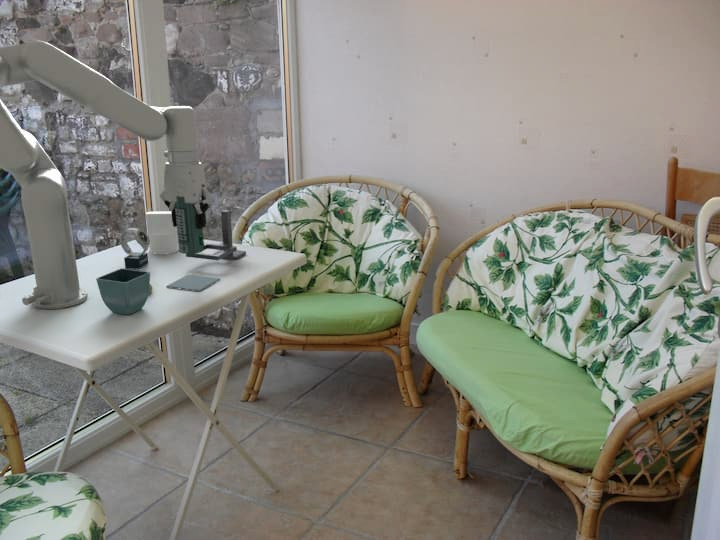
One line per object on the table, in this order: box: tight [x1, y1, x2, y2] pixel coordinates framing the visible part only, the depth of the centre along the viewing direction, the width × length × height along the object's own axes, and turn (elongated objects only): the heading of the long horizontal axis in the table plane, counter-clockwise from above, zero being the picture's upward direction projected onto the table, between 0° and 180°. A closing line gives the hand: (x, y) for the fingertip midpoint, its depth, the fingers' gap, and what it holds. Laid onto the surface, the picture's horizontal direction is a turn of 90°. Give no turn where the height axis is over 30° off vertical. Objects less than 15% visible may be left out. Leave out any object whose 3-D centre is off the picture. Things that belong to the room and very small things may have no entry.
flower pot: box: [95, 268, 151, 316], centre depth 156 cm, size 9×9×9 cm
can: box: [175, 196, 205, 255], centre depth 170 cm, size 6×6×15 cm
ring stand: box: [185, 209, 247, 261], centre depth 192 cm, size 18×10×14 cm, turn 160°
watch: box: [119, 227, 150, 270], centre depth 188 cm, size 6×8×11 cm
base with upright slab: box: [145, 210, 179, 255], centre depth 203 cm, size 9×9×12 cm
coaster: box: [166, 274, 221, 292], centre depth 175 cm, size 10×10×1 cm
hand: (189, 226), depth 171 cm, fingers closed on can, 6 cm apart
